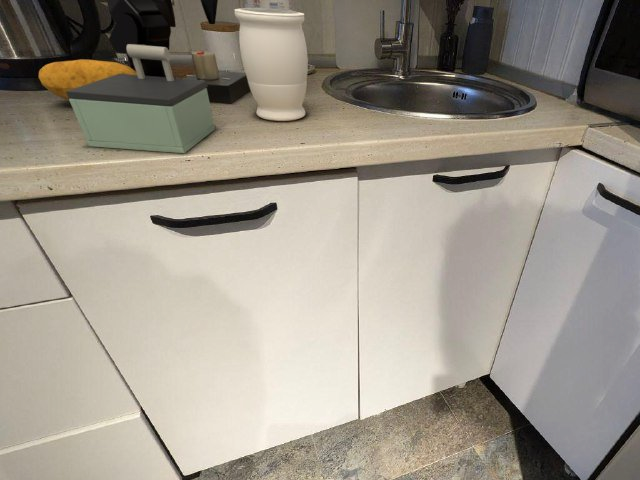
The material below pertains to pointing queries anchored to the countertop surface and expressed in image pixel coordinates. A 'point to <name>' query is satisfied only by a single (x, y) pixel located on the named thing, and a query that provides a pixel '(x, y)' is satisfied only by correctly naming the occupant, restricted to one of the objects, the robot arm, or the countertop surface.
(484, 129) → the countertop surface
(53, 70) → the potato
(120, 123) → the green box
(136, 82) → the box lid
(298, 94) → the jar
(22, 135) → the countertop surface
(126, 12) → the robot arm
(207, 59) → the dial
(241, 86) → the block
